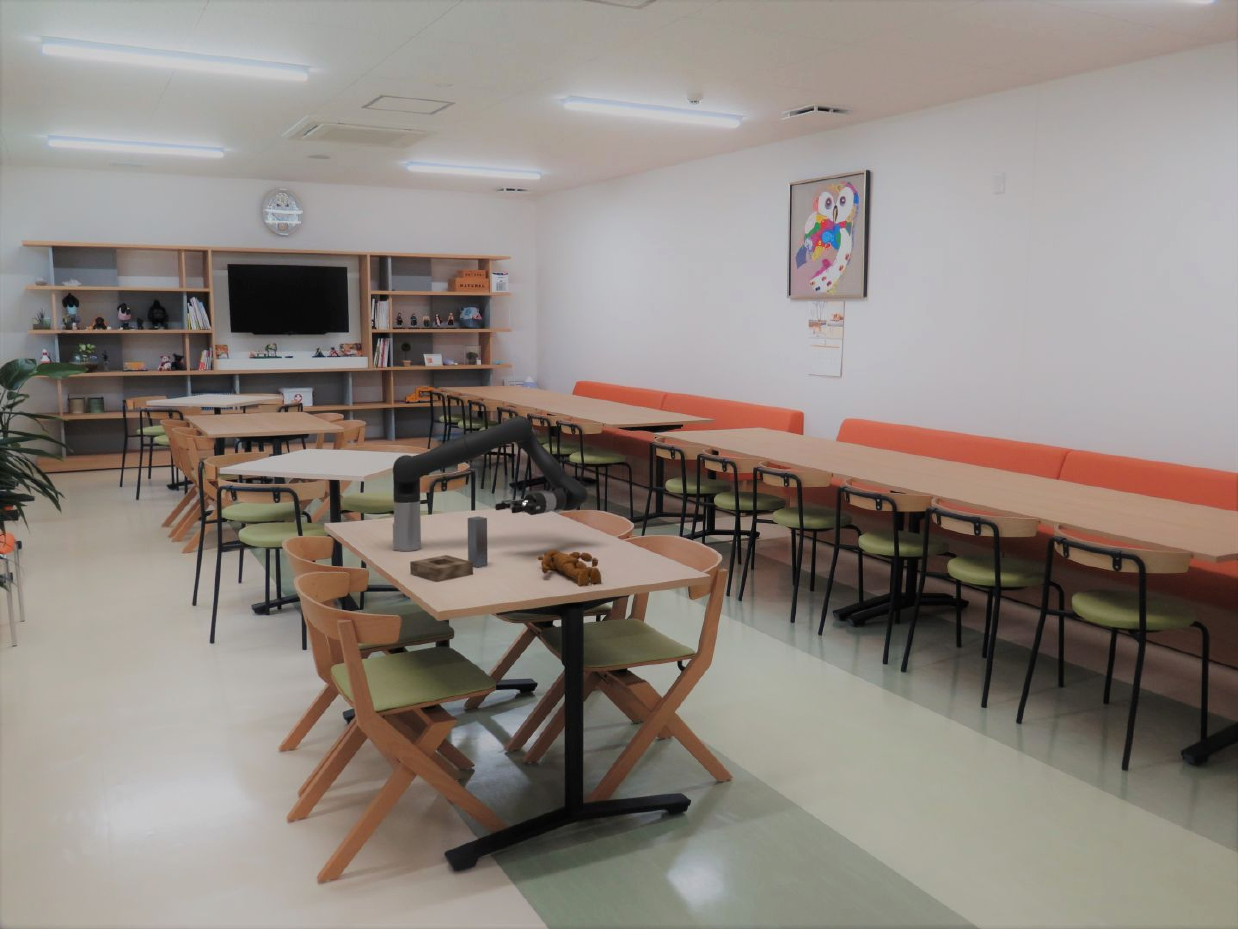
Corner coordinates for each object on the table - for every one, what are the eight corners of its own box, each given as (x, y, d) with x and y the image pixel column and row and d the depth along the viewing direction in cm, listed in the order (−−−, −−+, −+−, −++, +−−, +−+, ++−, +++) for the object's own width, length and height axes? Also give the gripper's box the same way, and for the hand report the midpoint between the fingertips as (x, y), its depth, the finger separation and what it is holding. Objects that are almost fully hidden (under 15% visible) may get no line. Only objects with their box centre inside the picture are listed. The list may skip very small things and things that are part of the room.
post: (476, 568, 321) (476, 519, 319) (468, 565, 324) (467, 518, 322) (487, 565, 324) (487, 518, 322) (479, 563, 327) (478, 516, 325)
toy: (618, 585, 305) (573, 562, 331) (618, 563, 304) (573, 542, 330) (561, 593, 295) (519, 568, 321) (562, 570, 294) (519, 548, 319)
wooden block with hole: (436, 581, 302) (436, 569, 302) (410, 574, 312) (410, 561, 311) (472, 574, 312) (472, 562, 312) (446, 567, 322) (446, 555, 321)
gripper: (526, 490, 346) (490, 495, 334) (553, 494, 336) (517, 500, 325) (526, 511, 347) (490, 517, 335) (554, 515, 337) (518, 522, 326)
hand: (504, 508), depth 330 cm, fingers open, 8 cm apart
